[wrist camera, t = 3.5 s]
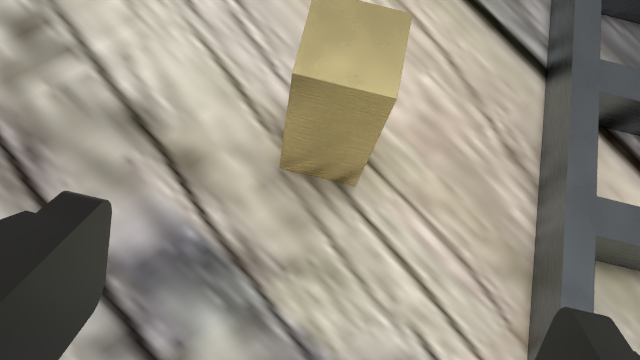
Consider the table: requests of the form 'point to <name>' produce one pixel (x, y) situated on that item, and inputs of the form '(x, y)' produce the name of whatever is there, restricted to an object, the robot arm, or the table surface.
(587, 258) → the rack rail
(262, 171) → the table surface
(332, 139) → the brass peg
